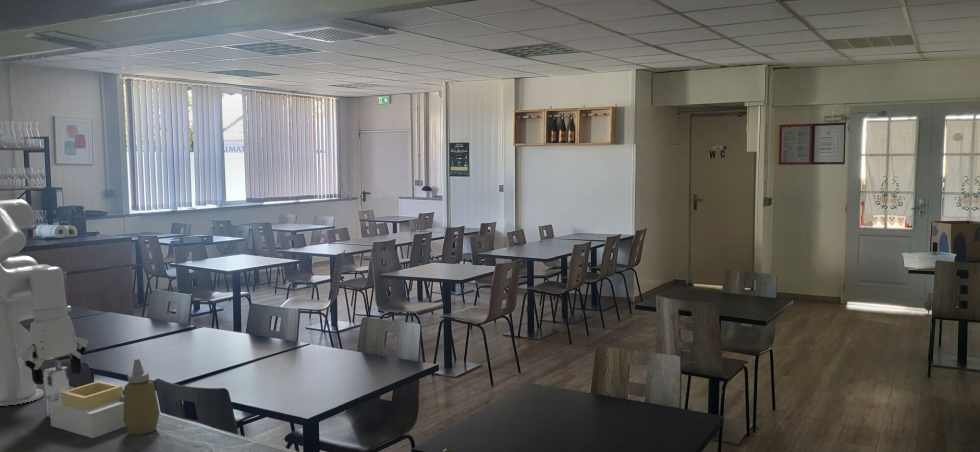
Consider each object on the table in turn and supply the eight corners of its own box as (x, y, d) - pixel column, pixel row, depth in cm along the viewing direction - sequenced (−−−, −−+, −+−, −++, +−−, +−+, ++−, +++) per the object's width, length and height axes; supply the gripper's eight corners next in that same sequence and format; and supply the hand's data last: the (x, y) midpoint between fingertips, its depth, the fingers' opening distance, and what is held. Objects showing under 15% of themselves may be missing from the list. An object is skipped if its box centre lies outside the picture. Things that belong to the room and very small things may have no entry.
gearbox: (51, 425, 186) (47, 391, 186) (97, 410, 197) (94, 377, 196) (92, 438, 177) (89, 401, 176) (138, 421, 187) (135, 387, 187)
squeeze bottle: (146, 438, 176) (140, 364, 174) (117, 436, 178) (110, 363, 176) (167, 425, 184) (162, 355, 182) (139, 424, 186) (133, 354, 184)
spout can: (43, 415, 194) (38, 362, 193) (64, 408, 199) (59, 356, 197) (54, 418, 191) (49, 364, 190) (75, 412, 196) (70, 359, 195)
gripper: (75, 307, 202) (82, 368, 203) (7, 320, 187) (15, 386, 188) (91, 308, 198) (98, 370, 199) (23, 322, 183) (31, 389, 184)
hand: (57, 378), depth 194 cm, fingers open, 9 cm apart
